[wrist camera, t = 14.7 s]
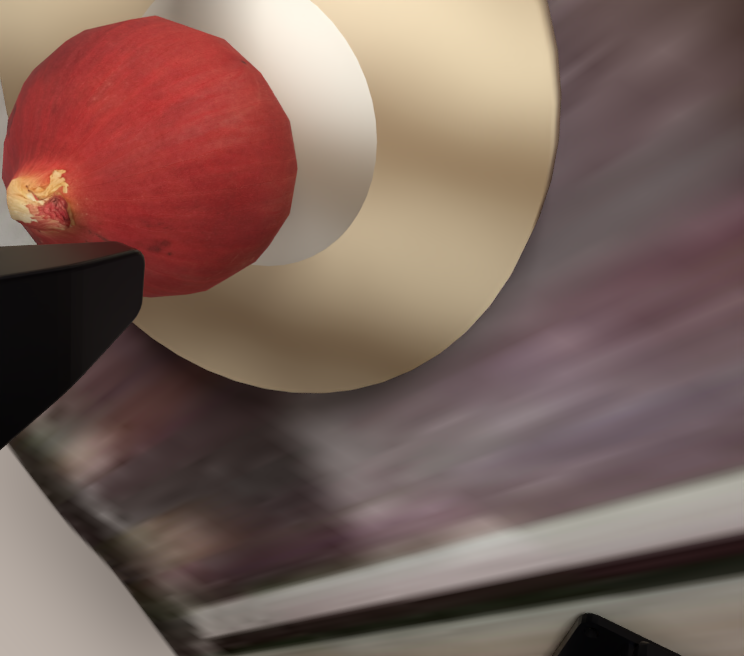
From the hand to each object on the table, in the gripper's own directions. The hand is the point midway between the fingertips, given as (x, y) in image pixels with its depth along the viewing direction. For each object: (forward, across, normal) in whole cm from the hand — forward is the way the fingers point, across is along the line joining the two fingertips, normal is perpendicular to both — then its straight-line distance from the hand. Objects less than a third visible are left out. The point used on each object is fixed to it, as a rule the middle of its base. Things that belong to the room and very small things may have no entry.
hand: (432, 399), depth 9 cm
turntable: (+12, +8, 0) cm, 14 cm away
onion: (+9, +8, +1) cm, 12 cm away
